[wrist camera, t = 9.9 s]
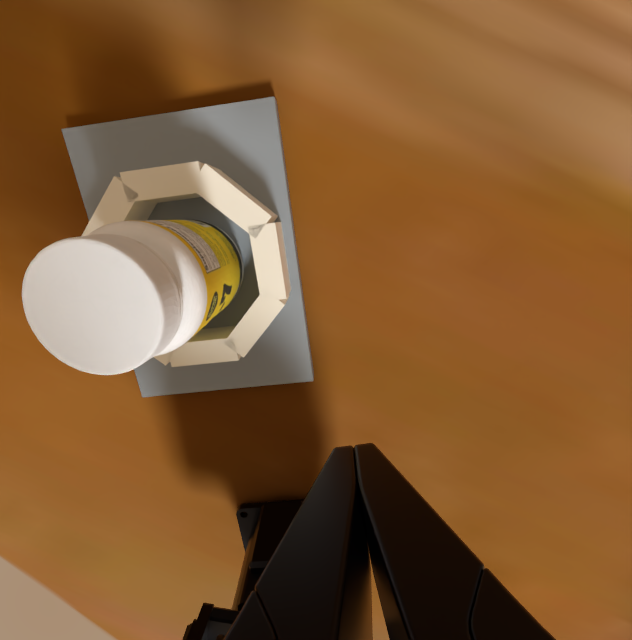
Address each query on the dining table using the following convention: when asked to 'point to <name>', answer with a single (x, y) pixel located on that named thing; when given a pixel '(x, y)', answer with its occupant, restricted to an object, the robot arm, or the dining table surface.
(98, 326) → the supplement bottle
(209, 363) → the holder board
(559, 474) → the dining table surface
